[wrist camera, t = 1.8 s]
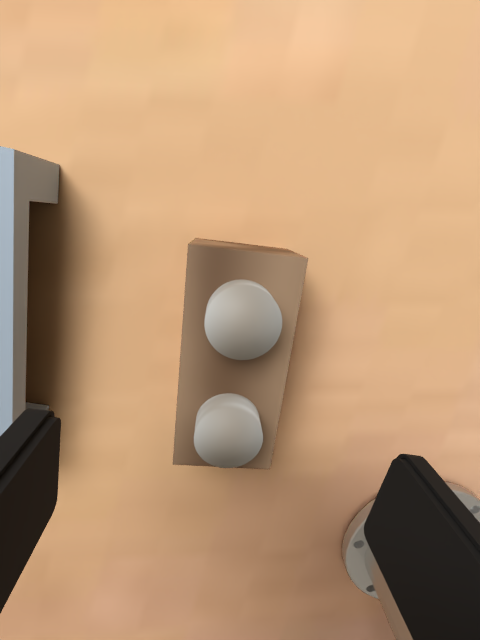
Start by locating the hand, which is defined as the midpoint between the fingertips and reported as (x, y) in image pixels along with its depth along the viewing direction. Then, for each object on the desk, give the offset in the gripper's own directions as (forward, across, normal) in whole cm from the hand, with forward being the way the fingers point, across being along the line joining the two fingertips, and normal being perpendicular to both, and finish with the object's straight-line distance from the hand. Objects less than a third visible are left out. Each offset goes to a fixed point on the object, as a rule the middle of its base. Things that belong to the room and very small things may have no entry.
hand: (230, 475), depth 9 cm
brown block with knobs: (+12, -1, +1) cm, 13 cm away
